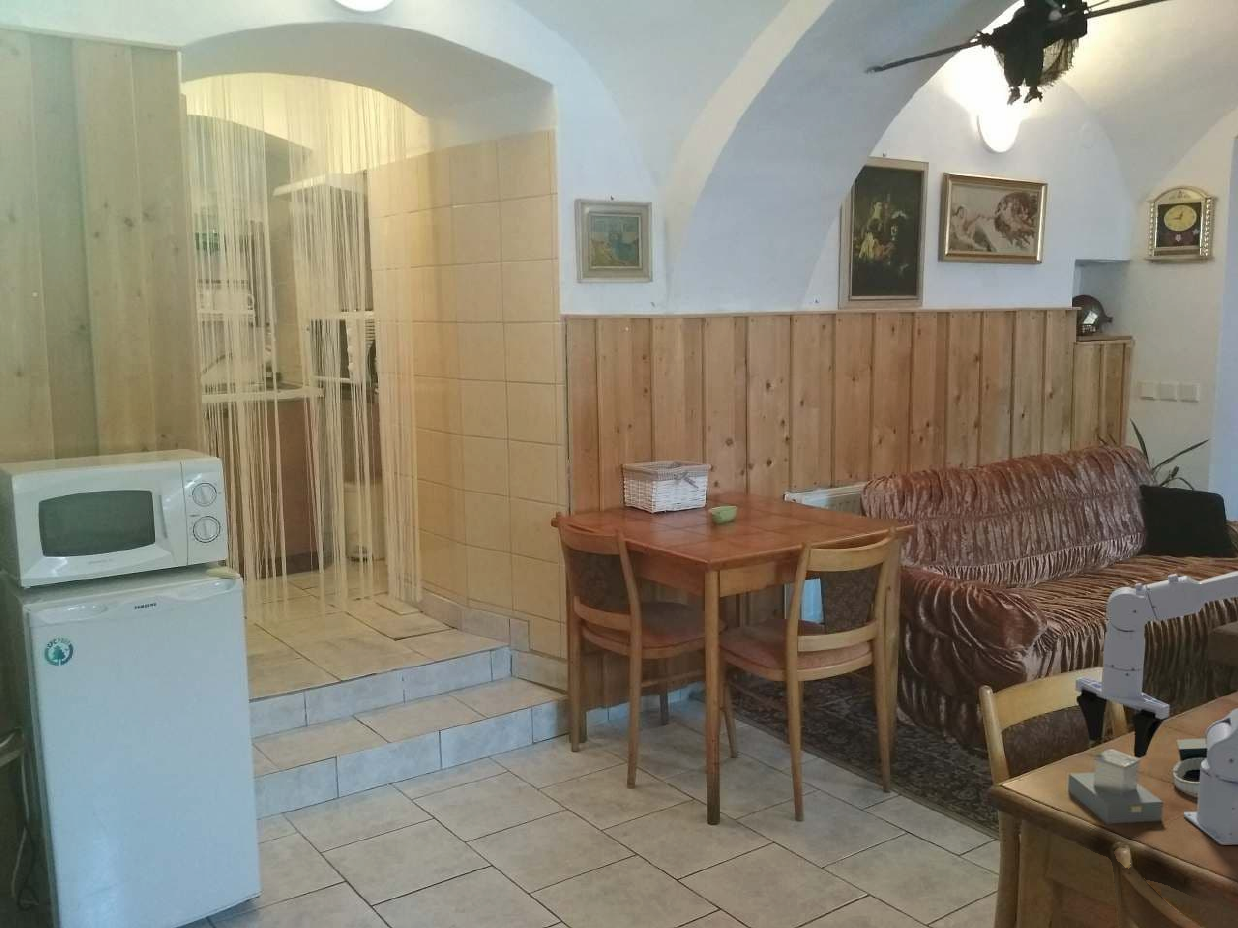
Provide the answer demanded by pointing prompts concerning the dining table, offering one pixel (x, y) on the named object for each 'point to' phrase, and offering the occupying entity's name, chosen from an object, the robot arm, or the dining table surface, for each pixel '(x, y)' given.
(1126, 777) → the tea tin
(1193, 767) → the watch
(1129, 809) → the watch box
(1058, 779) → the dining table surface
